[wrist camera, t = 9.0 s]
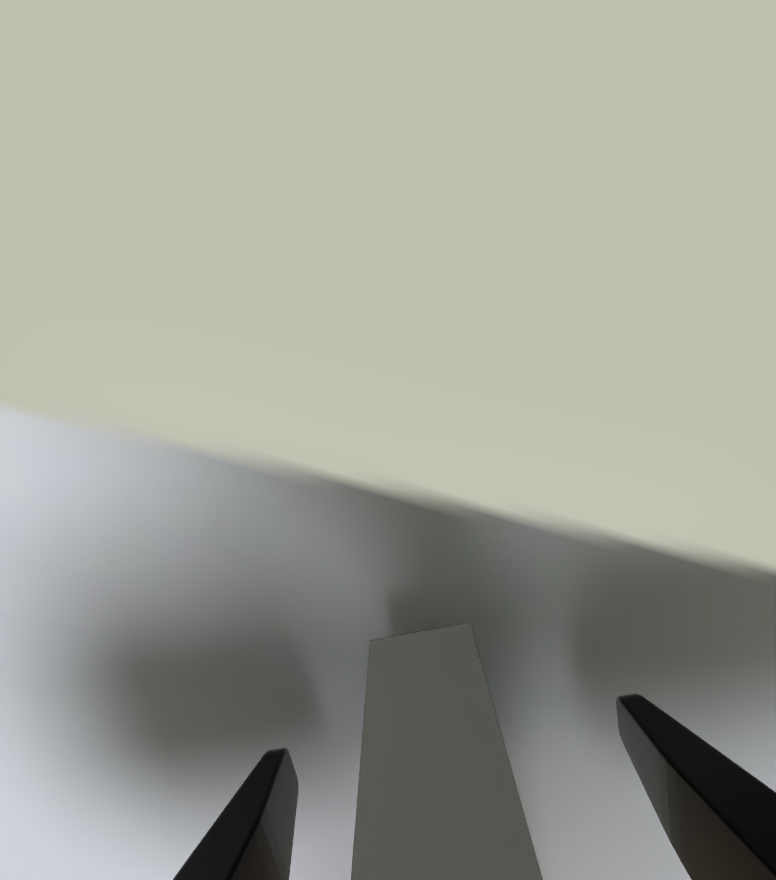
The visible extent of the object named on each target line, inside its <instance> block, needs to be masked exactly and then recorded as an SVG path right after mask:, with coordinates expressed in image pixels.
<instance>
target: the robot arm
mask: <svg viewBox="0 0 776 880" xmlns="http://www.w3.org/2000/svg"><path fill="white" fill-rule="evenodd" d="M616 704H617V715H618V725H619V732H620V736H621V739H622V741H623V744H624V746H625V748H626V750H627V752H628V754H629V756H630V758H631V761H632V763H633V765H634V767H635V769H636V771H637V773H638V775H639V777H640V780H641V782H642V784H643V786H644V788H645V790H646V792H647V794H648V796H649V798H650V801H651V803H652V805H653V807H654V809H655V811H656V813H657V815H658V817H659V819H660V822H661V824H662V826H663V828H664V830H665V832H666V834H667V836H668V838H669V840H670V842H671V844H672V846H673V848H674V849H675V851H676V853H677V855H678V857H679V858H680V860H681V862H682V864H683V866H684V867H685V869H686V871H687V872H688V874H689V876H690V878H691V879H692V880H776V792H775V791H773V790H772V789H770V788H769V787H768V786H766V785H765V784H764V783H762V782H761V781H759V780H758V779H757V778H755V777H754V776H752V775H751V774H750V773H748V772H747V771H745V770H744V769H743V768H741V767H740V766H739V765H737V764H736V763H734V762H733V761H732V760H730V759H729V758H727V757H726V756H725V755H723V754H722V753H721V752H719V751H718V750H716V749H715V748H714V747H712V746H711V745H709V744H708V743H707V742H705V741H704V740H702V739H701V738H700V737H698V736H697V735H696V734H694V733H693V732H691V731H690V730H689V729H687V728H686V727H684V726H683V725H682V724H680V723H679V722H677V721H676V720H675V719H673V718H672V717H671V716H669V715H668V714H666V713H665V712H664V711H662V710H661V709H659V708H658V707H657V706H655V705H654V704H653V703H651V702H650V701H648V700H647V699H646V698H644V697H643V696H641V695H639V694H629V695H622V696H619V697H618V698H617V700H616ZM297 798H298V779H297V775H296V772H295V769H294V766H293V763H292V760H291V756H290V753H289V751H288V750H287V749H286V748H281V749H274V750H269V751H268V752H266V753H265V754H264V755H263V757H262V758H261V760H260V761H259V762H258V764H257V765H256V766H255V768H254V769H253V771H252V772H251V773H250V775H249V776H248V777H247V779H246V780H245V781H244V783H243V784H242V786H241V787H240V788H239V790H238V791H237V792H236V794H235V795H234V797H233V798H232V799H231V801H230V802H229V803H228V805H227V806H226V808H225V809H224V810H223V812H222V813H221V814H220V816H219V817H218V818H217V820H216V821H215V823H214V824H213V825H212V827H211V828H210V829H209V831H208V832H207V834H206V835H205V836H204V838H203V839H202V840H201V842H200V843H199V844H198V846H197V847H196V849H195V850H194V851H193V853H192V854H191V855H190V857H189V858H188V860H187V861H186V862H185V864H184V865H183V866H182V868H181V869H180V871H179V872H178V873H177V875H176V876H175V877H174V879H173V880H289V874H290V864H291V855H292V845H293V836H294V826H295V817H296V807H297Z"/></svg>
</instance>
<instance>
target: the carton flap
mask: <svg viewBox="0 0 776 880" xmlns="http://www.w3.org/2000/svg"><path fill="white" fill-rule="evenodd" d="M351 880H543V879H542V876H541V872H540V869H539V865H538V862H537V858H536V855H535V851H534V848H533V844H532V840H531V837H530V833H529V830H528V826H527V823H526V819H525V816H524V812H523V809H522V805H521V802H520V798H519V794H518V791H517V787H516V784H515V780H514V777H513V773H512V770H511V766H510V763H509V759H508V756H507V752H506V749H505V745H504V741H503V738H502V734H501V731H500V727H499V724H498V720H497V717H496V713H495V710H494V706H493V703H492V699H491V695H490V692H489V688H488V685H487V681H486V678H485V674H484V671H483V667H482V664H481V660H480V657H479V653H478V650H477V646H476V642H475V639H474V635H473V632H472V628H471V625H470V623H465V624H459V625H454V626H448V627H443V628H437V629H432V630H426V631H420V632H415V633H409V634H404V635H398V636H393V637H387V638H381V639H376V640H370V646H369V659H368V671H367V684H366V697H365V709H364V722H363V734H362V747H361V760H360V772H359V785H358V797H357V810H356V823H355V835H354V848H353V860H352V873H351Z"/></svg>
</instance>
